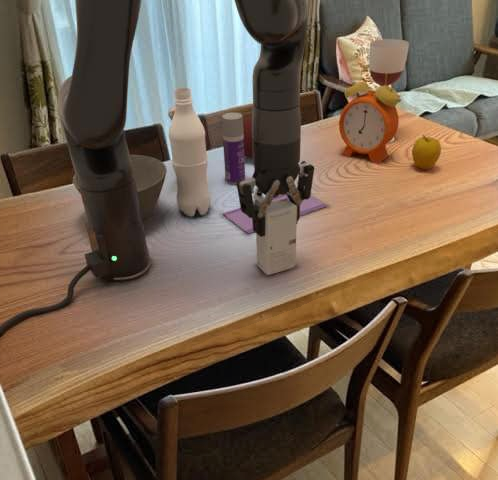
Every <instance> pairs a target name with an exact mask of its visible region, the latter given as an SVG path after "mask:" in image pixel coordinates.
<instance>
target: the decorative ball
mask: <svg viewBox="0 0 498 480" xmlns="http://www.w3.org/2000/svg"><path fill="white" fill-rule="evenodd" d="M242 119H243V134H244V158H248V159H253V146H252V115H251V116H247V117H245V118H242Z"/></svg>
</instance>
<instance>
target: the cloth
mask: <svg viewBox="0 0 498 480" xmlns="http://www.w3.org/2000/svg"><path fill="white" fill-rule="evenodd" d="M282 198H286V199H288V198H287V196H286V194H284V195H279V196H277V197H275V198H273V199H272V200H278V199H282ZM327 207H328V205H327V204H325V203H323V202H321V201H319V200H318V199H317V198H315V197H314V196H312V195H310V198H309V199H307V200H306V199H304V200H303V201H302V203H301V205H300V217H302V216H305V215H307V214H311V213H313V212H316V211H319V210H322V209H324V208H327ZM222 216H224V217H225V218H226V219H228V220H229V221H230V222H231V223H233V224H234V225H236V227H238V228H239V229H240V230H242V232H244V233H245V234H246V235H250V234H253V233H255V232H254V231H253V223H252V218H249V217H248V216H247V215H246V214H244V213H243V212H242V211H241V207H239V208H236V209H232V210H229V211H226V212H224V213H222Z"/></svg>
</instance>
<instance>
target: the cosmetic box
mask: <svg viewBox="0 0 498 480" xmlns="http://www.w3.org/2000/svg"><path fill="white" fill-rule="evenodd" d="M259 207H260V206H259ZM258 209H259V208H258ZM264 217H265V236H262V237H260V236H259V235H258V234H256V233H255V235H256V236H255V238H256V239H255V240H256V241H255V243H256V266H258V268H260V270H261V271H262V272H263V273H264V274H265V275H267V276H270V275H274V274H277V273H280V272H284V271H287V270H290V269H294V268H295V267H296V253H297V250H296V249H297V225H298V224H297V206H296V205H295V204H293V203H292V202H290V201H289V200H288V199H286V198H282V199H278V200H272V202H271V204H270V206H268V207H267V209H266V211H265V214H264Z"/></svg>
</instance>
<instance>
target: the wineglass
mask: <svg viewBox="0 0 498 480" xmlns="http://www.w3.org/2000/svg"><path fill="white" fill-rule="evenodd" d="M409 48H410V43H409V41H407V40H403V39H398V38H382V39H381V38H380V39H376V40H372V41H371V42H369V53H368V68H369V69H368V71H369V74H370V78H371V79H372V81H373V82H374V83H375V84H377V85H378V86H379V87H381V86H384V85H385V82H386V86H389V87H390V86H391V85H393V84H394V83H396V82H397V81H399V79H400V78H401V76H402V74H403V72H404V70H405V66H406V63H407V59H408V58H407V57H408V55H409V54H408V53H409ZM370 70H373V71H370ZM376 71H380V72H376ZM383 72H386V73H387V77H386V73H383ZM395 138H396V137H395V136H394V137H393V139H392V140H391V141H390V142H388V143H387V144H389V143H392V142H394V140H395Z"/></svg>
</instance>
